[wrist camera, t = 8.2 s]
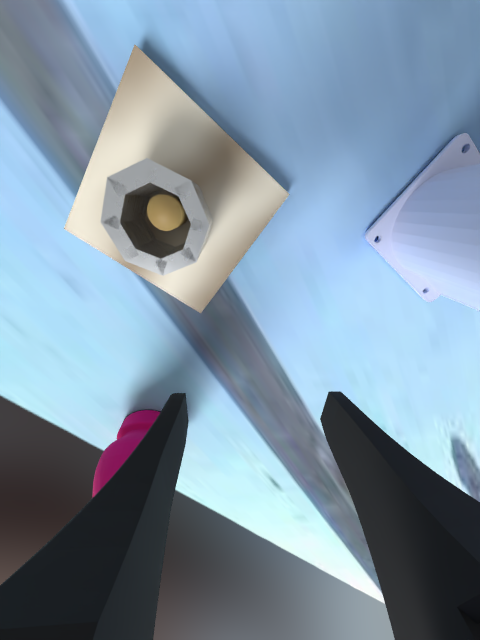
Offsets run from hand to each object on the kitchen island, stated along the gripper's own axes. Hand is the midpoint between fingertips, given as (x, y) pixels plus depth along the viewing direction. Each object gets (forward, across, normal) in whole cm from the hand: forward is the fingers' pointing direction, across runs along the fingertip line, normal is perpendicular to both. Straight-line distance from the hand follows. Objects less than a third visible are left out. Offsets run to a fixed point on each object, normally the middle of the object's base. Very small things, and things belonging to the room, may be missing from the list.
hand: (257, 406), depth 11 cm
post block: (+10, +5, -8) cm, 14 cm away
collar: (+9, +5, -8) cm, 13 cm away
